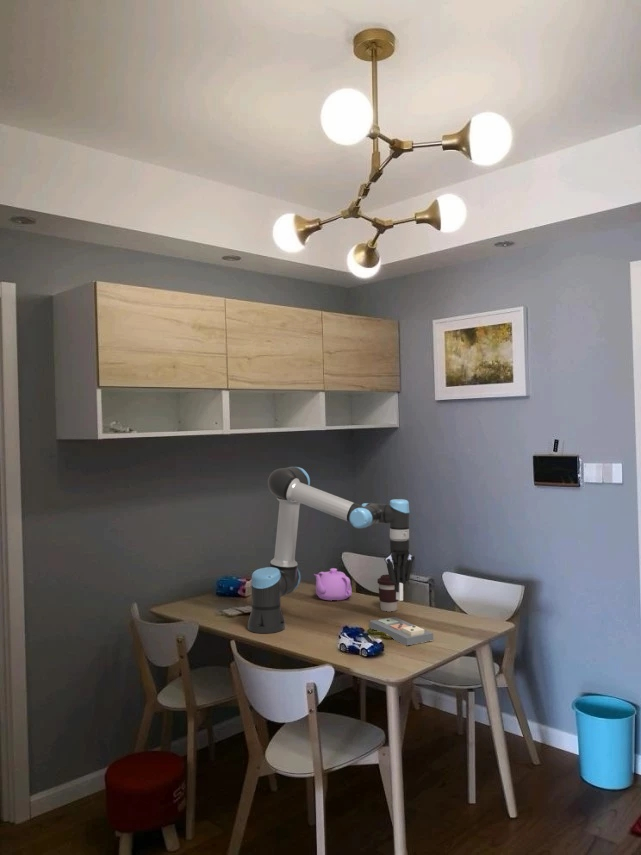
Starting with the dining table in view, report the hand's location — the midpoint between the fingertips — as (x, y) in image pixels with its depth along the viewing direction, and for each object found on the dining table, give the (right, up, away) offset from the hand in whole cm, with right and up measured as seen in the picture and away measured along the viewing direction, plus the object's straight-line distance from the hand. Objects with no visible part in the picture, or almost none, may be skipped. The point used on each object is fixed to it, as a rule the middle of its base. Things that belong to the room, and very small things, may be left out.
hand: (399, 599), depth 266 cm
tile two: (+4, -12, -8) cm, 15 cm away
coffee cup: (-1, -14, +36) cm, 38 cm away
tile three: (0, -13, 0) cm, 13 cm away
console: (0, -14, 0) cm, 14 cm away
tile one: (-4, -13, +7) cm, 16 cm away
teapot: (-26, -14, +56) cm, 63 cm away
